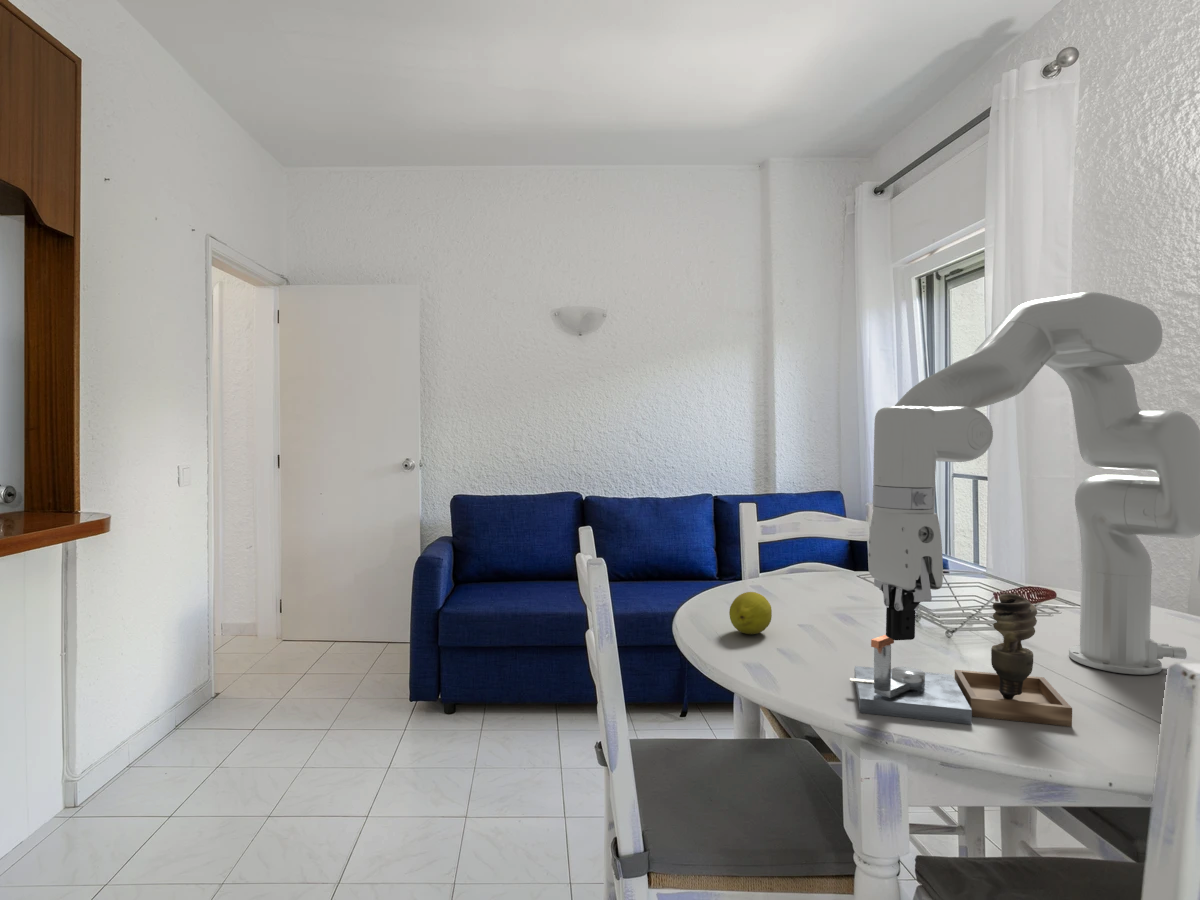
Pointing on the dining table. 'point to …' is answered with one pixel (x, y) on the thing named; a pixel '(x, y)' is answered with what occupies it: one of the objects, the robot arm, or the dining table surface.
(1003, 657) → the light bulb
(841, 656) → the dining table surface
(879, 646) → the crank
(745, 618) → the lemon
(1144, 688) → the dining table surface
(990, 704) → the tray
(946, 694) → the crank base
